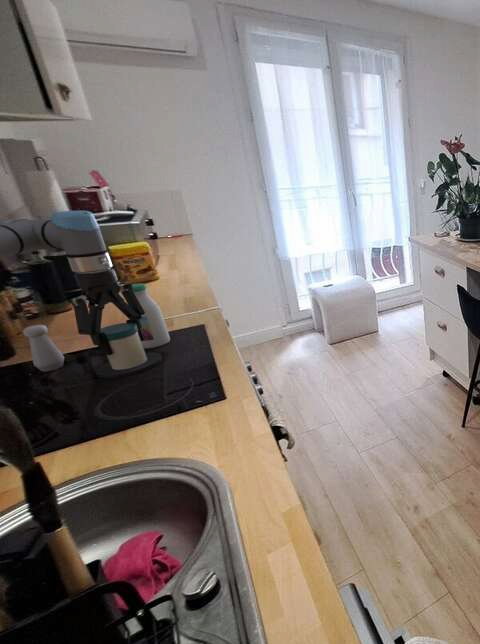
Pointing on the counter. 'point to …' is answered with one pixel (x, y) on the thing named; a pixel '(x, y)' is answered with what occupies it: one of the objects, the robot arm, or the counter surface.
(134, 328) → the lid
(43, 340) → the salt shaker
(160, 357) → the trivet
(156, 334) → the milk bottle
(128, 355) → the jar
